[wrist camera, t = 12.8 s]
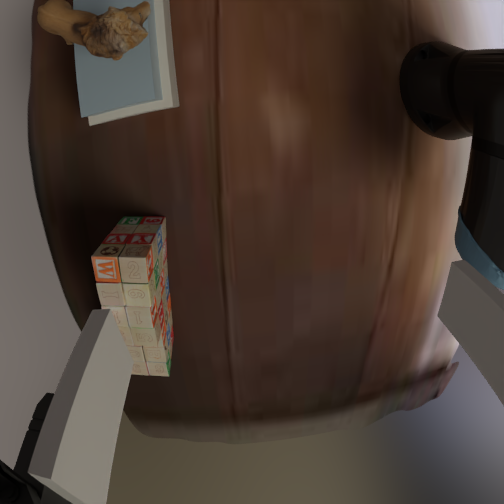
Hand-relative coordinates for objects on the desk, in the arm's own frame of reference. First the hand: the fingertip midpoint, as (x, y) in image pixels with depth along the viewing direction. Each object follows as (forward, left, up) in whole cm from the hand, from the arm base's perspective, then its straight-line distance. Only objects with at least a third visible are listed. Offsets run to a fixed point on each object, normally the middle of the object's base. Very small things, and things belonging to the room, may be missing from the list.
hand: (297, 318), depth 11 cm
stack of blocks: (+16, +16, -31) cm, 38 cm away
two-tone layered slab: (+12, -17, -31) cm, 37 cm away
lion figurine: (+13, -18, -22) cm, 31 cm away
